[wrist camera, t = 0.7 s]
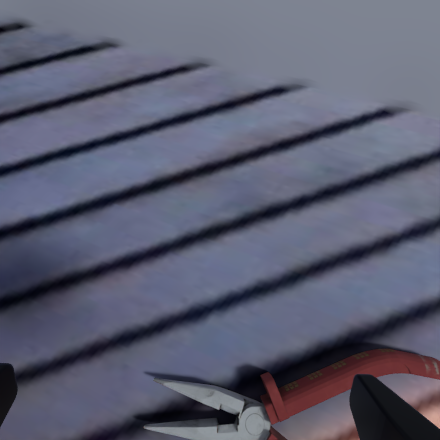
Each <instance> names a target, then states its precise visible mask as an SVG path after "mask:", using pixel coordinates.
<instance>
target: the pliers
mask: <svg viewBox="0 0 440 440" xmlns="http://www.w3.org/2000/svg"><path fill="white" fill-rule="evenodd" d="M393 373H407V374H414V375H419V376H424V377H429V378H435V379H440V361H439V360H437V359H435V358H432V357H428V356H423V355H418V354H413V353H408V352H403V351H398V350H393V349H374V350H369V351H365V352H361V353H358V354H355V355H352V356H350V357H347V358H345V359H343V360H341V361H338V362H336V363H334V364H332V365H329V366H327V367H325V368H323V369H320V370H318V371H316V372H314V373H311V374H309V375H307V376H305V377H302V378H300V379H298V380H296V381H294V382H291V383H289V384H287V385H285V386H282V387H280V388H277V386H276V383H275V381H274V379H273V377H272V376H271V374H270V373H269V372H267V373H264V374H262V375H260V376H261V379H262V382H263V384H264V387H265V389H266V392H267V393H266V394H264V395H261V396H260V398H261V401H262V403H260V402H259V401H256V400H253V399H251V398H248V397H246V396H243V395H240V394H238V393H235V392H232V391H230V390H227V389H224V388H221V387H218V386H214V385H207V384H199V383H191V382H183V381H175V380H167V379H159V378H154V380H153V381H155V382H157V383H160V384H162V385H164V386H166V387H168V388H170V389H173V390H175V391H177V392H179V393H181V394H184V395H186V396H188V397H190V398H192V399H195V400H197V401H199V402H201V403H203V404H206V405H208V406H211V407H213V408H215V409H218V410H219V408H220V409H222V410H225V411H227V412H229V413H232V414H234V415H237V416H238V420H237V417H236V419H235V422H234V424H227V425H219V423H218V421H217V418H208V419H195V420H185V421H176V422H166V423H157V424H147V425H145V426H144V429H149V430H153V431H157V432H162V433H166V434H170V435H175V436H179V437H183V438H188V439H192V440H287V439H286V438H285V437H283V436H282V435H281V434H280V433H279V432H277V431H276V430H275V429H274V428H273V427H272V426H270V422H271V424H272V425H273V424H275V423H277V422H279V421H280V422H281V421H283V420H286V419H288V418H289V417H290V416H292V415H295V414H297V413H299V412H301V411H303V410H305V409H308V408H310V407H312V406H314V405H316V404H318V403H321V402H323V401H325V400H327V399H329V398H331V397H334V396H336V395H338V394H340V393H342V392H345V391H347V390H349V389H351V388H352V383H353V378H354V376H355V375H356V374H370V375H373V376H374V377H379V376H383V375H387V374H393Z"/></svg>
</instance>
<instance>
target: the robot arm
mask: <svg viewBox="0 0 440 440" xmlns="http://www.w3.org/2000/svg"><path fill="white" fill-rule="evenodd" d="M17 390H18V387H17V382H16V377H15V373H14V368H13V366H12V365H11V364H9V363H0V427H1V425H2V423H3V421H4V419H5V417H6V415H7V413H8V411H9V410H10V408H11V406H12V404H13V402H14V400H15V398H16V395H17ZM350 408H351V411H352V415H353V418H354V421H355V425H356V428H357V431H358V435H359V438H360V440H440V429H439V428H438V427H437V426H435V425H434V424H433V423H432V422H430V421H429V420H428V419H427V418H425V417H424V416H423V415H422V414H420V413H419V412H418V411H417V410H415V409H414V408H413V407H412V406H410V405H409V404H408V403H407V402H405V401H404V400H403V399H402V398H400V397H399V396H398V395H397V394H396V393H394V392H393V391H392V390H391V389H389V388H388V387H387V386H386V385H384V384H383V383H382V382H381V381H379V380H378V379H377V378H376V377H374V376H373V375H370V374H356V375H355V376H354V378H353V383H352V388H351V393H350Z"/></svg>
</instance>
